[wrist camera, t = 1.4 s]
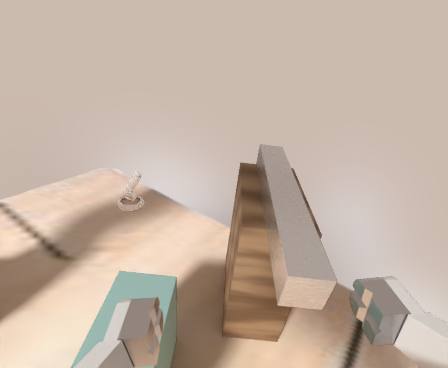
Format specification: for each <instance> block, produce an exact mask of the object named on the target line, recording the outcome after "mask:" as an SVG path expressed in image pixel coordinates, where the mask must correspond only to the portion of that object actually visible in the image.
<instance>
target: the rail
mask: <svg viewBox="0 0 448 368" xmlns="http://www.w3.org/2000/svg"><path fill="white" fill-rule="evenodd" d="M256 166H257V172H258V179H259V185H260V192H261V199H262V205H263V212H264V219H265V225H266V232H267V239H268V245H269V252H270V259H271V265H272V272H273V279H274V285H275V292H276V298H277V305H278V306H288V307H297V308H307V309H317V310H322V309H323V307H324V305H325V304H326V302H327V300H328V298H329V296H330V294H331V292H332V291H333V289H334V287H335V285H336V283H337V279H336V277H335V274H334V272H333V270H332V267H331V265H330V262H329V260H328V257H327V255H326V252H325V250H324V248H323V245H322V243H321V240H320V238H319V235H318V233H317V231H316V228H315V226H314V223H313V221H312V218H311V216H310V213H309V211H308V209H307V206H306V204H305V201H304V199H303V196H302V194H301V192H300V189H299V187H298V184H297V182H296V179H295V177H294V174H293V172H292V170H291V167H290V165H289V162H288V160H287V158H286V155H285V153H284V150H283V148H282V147H278V146H270V145H260V148H259V153H258V158H257V164H256Z"/></svg>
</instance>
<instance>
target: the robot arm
mask: <svg viewBox="0 0 448 368" xmlns="http://www.w3.org/2000/svg"><path fill="white" fill-rule="evenodd" d="M353 287H354V289H355V290H354V291H353V292H352V293H351V294H350V305H351V308H352V311H353V313H354V315H355V316H356V318H358V319H359V320H360V321H362V322H363V325H362V329H363V331H364V332H365V334H366V336H367V338H368V339H369V341H370V343H371V345H387V344H394V346H395V347H396V348H398V349H399V350H400V351H401V352H402V353H403V354H405V355H406V356H407V357H408V358H409V359H410V360H412V361H413V362H414V363H415V364H416V365H417V366H419V367H420V368H448V323H447V322H445V321H443V320H442V319H440V318H438V317H436V316H435V315H433V314H431V313H426V312H425V311H424V310H423V309H422V308H421V307H420V305H419V304H418V303H417V302H416V301H415V300H414V298H413V297H412V296H411V295H410V294H409V293H408V291H407V290H406V289H405V288H404V287H403V286H402V284H401V283H400V282H399V281H398V280H397V279H396V278H395V277H381V278H369V279H358V280H355V281H354V283H353ZM159 305H160V301H159V298H158V297H154V298H138V299H123V300H120V301H119V302H118V303H117V305H116V308H115V311H114V313H113V316H112V319H111V321H110V324H109V327H108V329H107V332H106V334H105V337H104V340H103V342H98V343H97V344H96V345H95V347H94V348H93V349H92V350H91V351H90V352H89V353H88V354H87V355H86V356H85V357H84V358H83V359H82V360H81V361H80V362H79V363H78V364H77V365H76V366H75V367H74V368H137V367H145V366H153V365H157V360H158V355H159V349H160V345H159V342H158V339H159V338H160V336H161V335H162V331H163V320H164V319H163V312H162V309H160V308H159Z"/></svg>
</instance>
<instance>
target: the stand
mask: <svg viewBox="0 0 448 368" xmlns="http://www.w3.org/2000/svg"><path fill="white" fill-rule="evenodd" d="M291 170H292V172H293V174H294V177H295V179H296V182H297V184H298V187H299V189H300V192H301V194H302V196H303V199H304V201H305V204H306V206H307V209H308V211H309V213H310V216H311V218H312V221H313V223H314V226H315V228H316V231H317V233H318V235H319V238H320V239H321V236H322V235H321V232H320V230H319V228H318V225H317V223H316V221H315V218H314V216H313V214H312V211H311V209H310V207H309V204H308V202H307V200H306V197H305V195H304V193H303V190H302V188H301V186H300V183H299V181H298V179H297V176H296V174H295V171H294V169H293V168H291ZM291 308H292V307H288V306H278V305H277V298H276V292H275V285H274V279H273V272H272V265H271V259H270V252H269V245H268V239H267V232H266V225H265V219H264V212H263V205H262V199H261V192H260V185H259V179H258V172H257V166H256V164H248V163H240V169H239V176H238V182H237V189H236V196H235V203H234V209H233V216H232V223H231V229H230V235H229V242H228V249H227V255H226V269H225V289H224V309H223V329H222V336H226V337H235V338H245V339H255V340H265V341H274V342H277V341H278V339H279V336H280V334H281V332H282V329H283V327H284V324H285V322H286V320H287V317H288V315H289V313H290V310H291Z"/></svg>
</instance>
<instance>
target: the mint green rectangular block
mask: <svg viewBox="0 0 448 368" xmlns="http://www.w3.org/2000/svg"><path fill="white" fill-rule="evenodd" d="M154 297H158V298H159V301H160V305H159V308H160V309H162V312H163V319H164V320H163V331H162V335H161V336H160V338H159V339H158V342H159V345H160V349H159V355H158V360H157V365H153V366H145V367H137V368H171V364H172V359H173V354H174V349H175V344H176V339H177V277H173V276H163V275H154V274H144V273H135V272H125V271H119V273H118V275H117V277H116V279H115V281H114V283H113V285H112V287H111V289H110V291H109V293H108V295H107V297H106V299H105V301H104V303H103V305H102V307H101V309H100V311H99V313H98V315H97V317H96V319H95V321H94V323H93V325H92V327H91V329H90V331H89V333H88V335H87V337H86V339H85V341H84V343H83V345H82V347H81V349H80V351H79V353H78V355H77V357H76V359H75V361H74V363H73V365H72V367H71V368H74V367H75V366H76V365H77V364H78V363H79V362H80V361H81V360H82V359H83V358H84V357H85V356H86V355H87V354H88V353H89V352H90V351H91V350H92V349H93V348H94V347H95V345H96V344H97V343H98V342H103V340H104V337H105V334H106V332H107V329H108V327H109V324H110V321H111V319H112V316H113V313H114V311H115V308H116V305H117V303H118V302H119V301H120V300H123V299H138V298H154Z"/></svg>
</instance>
